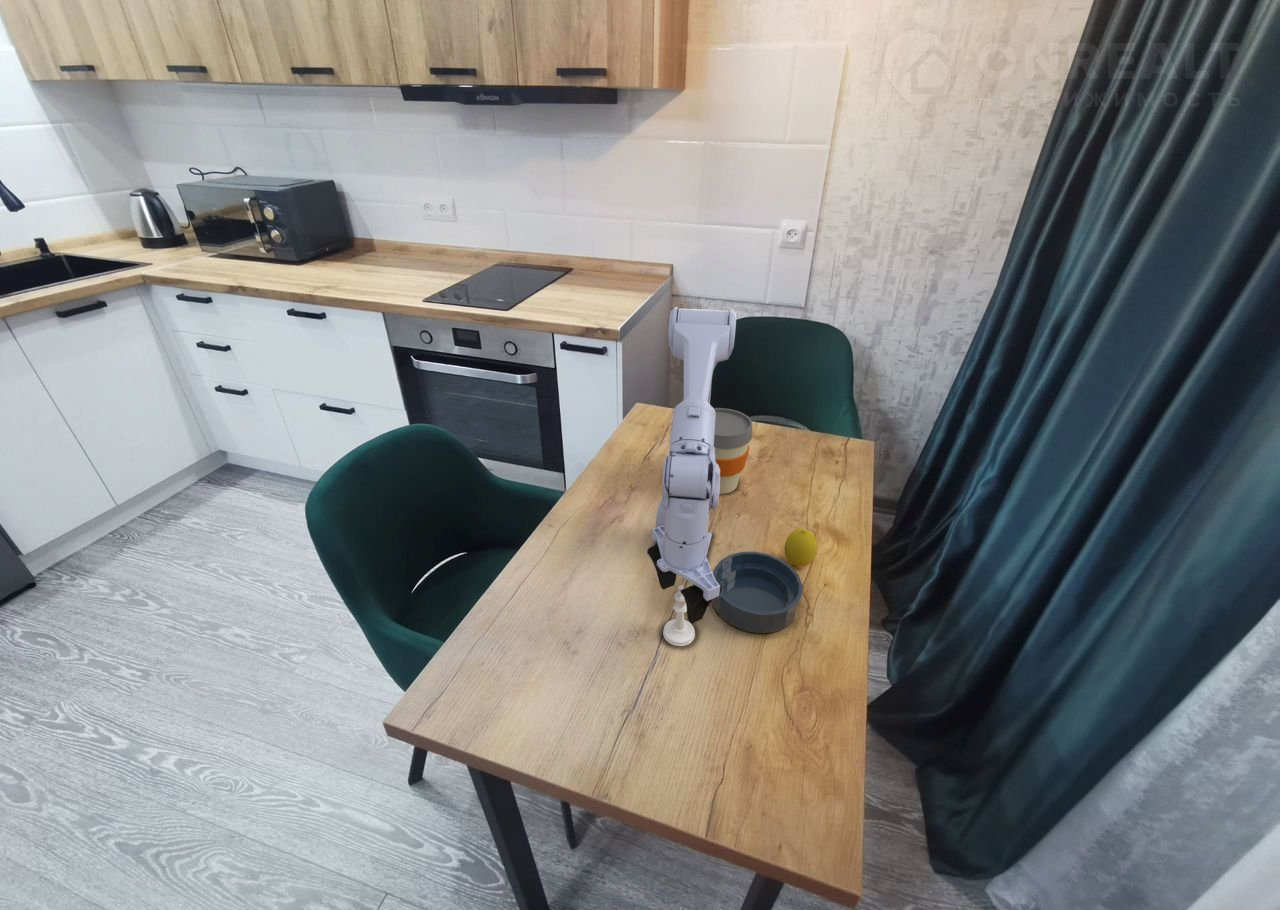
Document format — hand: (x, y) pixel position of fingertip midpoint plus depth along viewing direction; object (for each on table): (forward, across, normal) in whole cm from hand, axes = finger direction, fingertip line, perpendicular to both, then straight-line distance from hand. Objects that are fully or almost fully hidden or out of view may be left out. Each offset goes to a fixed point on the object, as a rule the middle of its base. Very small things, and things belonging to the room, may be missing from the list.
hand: (680, 602), depth 84 cm
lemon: (+7, -3, +27) cm, 28 cm away
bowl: (+7, 0, +14) cm, 16 cm away
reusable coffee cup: (+7, -31, +30) cm, 44 cm away
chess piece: (+7, 0, 0) cm, 7 cm away
